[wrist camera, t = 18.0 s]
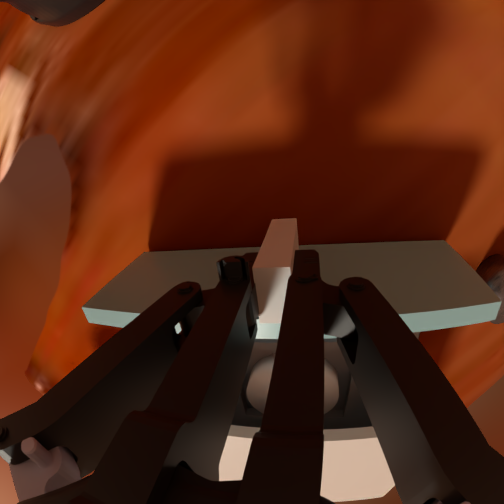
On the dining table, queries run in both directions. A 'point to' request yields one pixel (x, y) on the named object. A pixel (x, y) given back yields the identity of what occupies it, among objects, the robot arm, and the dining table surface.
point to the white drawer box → (325, 462)
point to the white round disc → (262, 377)
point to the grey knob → (494, 280)
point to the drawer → (332, 272)
